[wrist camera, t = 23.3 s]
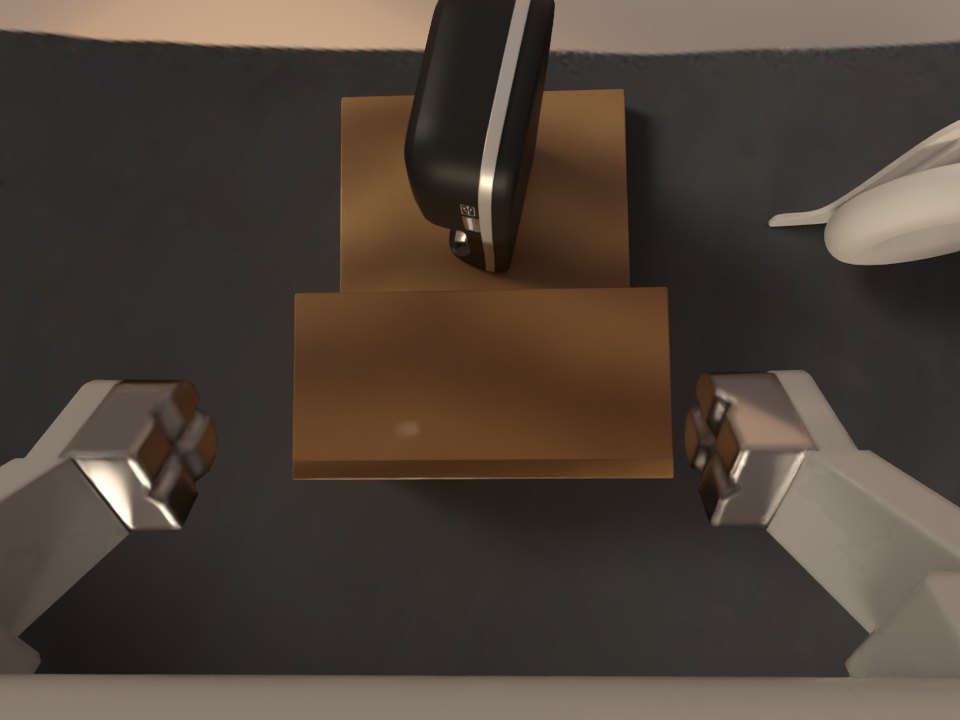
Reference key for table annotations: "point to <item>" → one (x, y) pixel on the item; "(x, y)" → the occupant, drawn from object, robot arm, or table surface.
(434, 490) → the table surface
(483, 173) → the battery charger
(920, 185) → the headset
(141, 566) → the table surface
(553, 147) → the step shelf
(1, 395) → the table surface
